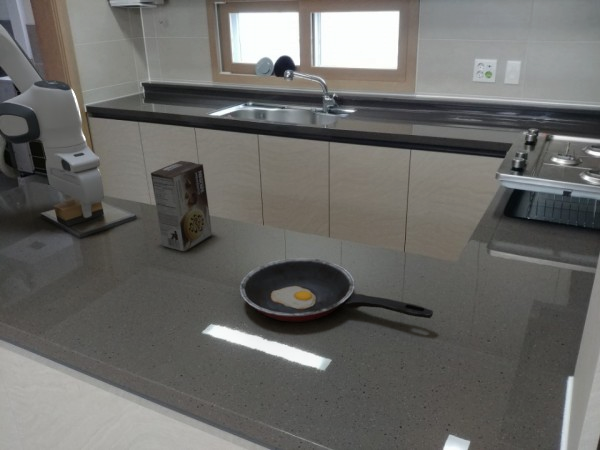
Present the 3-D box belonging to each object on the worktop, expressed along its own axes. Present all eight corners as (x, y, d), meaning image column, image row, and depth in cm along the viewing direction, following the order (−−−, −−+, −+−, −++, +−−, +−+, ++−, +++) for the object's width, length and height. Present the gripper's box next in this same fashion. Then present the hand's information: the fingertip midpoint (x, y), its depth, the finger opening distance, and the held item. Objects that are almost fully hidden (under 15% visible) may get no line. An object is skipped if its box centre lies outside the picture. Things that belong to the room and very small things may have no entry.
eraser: (57, 221, 124) (53, 205, 122) (94, 209, 130) (90, 194, 128) (67, 226, 120) (63, 210, 119) (104, 214, 126) (100, 198, 125)
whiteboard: (41, 217, 130) (40, 212, 129) (95, 200, 139) (94, 196, 139) (80, 238, 117) (79, 233, 117) (136, 218, 126) (136, 214, 126)
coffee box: (190, 230, 119) (181, 159, 112) (213, 235, 116) (204, 163, 109) (160, 246, 112) (149, 172, 105) (184, 252, 108) (173, 176, 102)
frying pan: (278, 265, 101) (277, 247, 100) (447, 303, 87) (449, 282, 85) (218, 314, 86) (216, 294, 85) (411, 370, 72) (412, 347, 70)
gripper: (34, 151, 124) (47, 207, 129) (75, 166, 111) (88, 228, 116) (60, 145, 128) (72, 200, 133) (103, 159, 115) (114, 219, 120)
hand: (80, 213), depth 125 cm, fingers closed on eraser, 5 cm apart
